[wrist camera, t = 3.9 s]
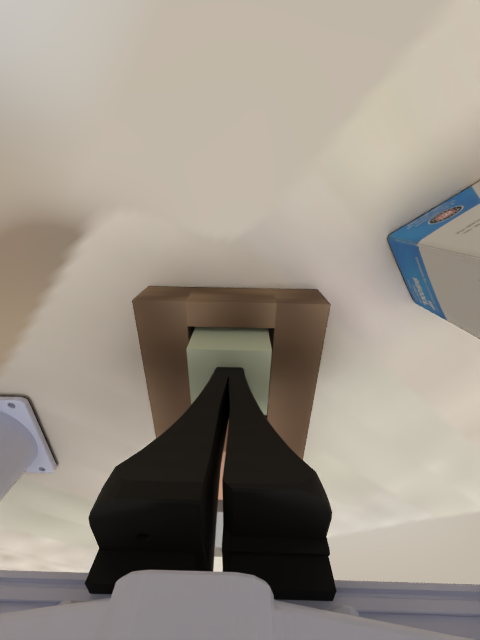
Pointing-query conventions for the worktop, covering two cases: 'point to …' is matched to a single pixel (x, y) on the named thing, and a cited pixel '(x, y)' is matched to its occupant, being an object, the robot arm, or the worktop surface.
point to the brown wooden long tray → (234, 311)
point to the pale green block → (230, 358)
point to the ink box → (444, 259)
